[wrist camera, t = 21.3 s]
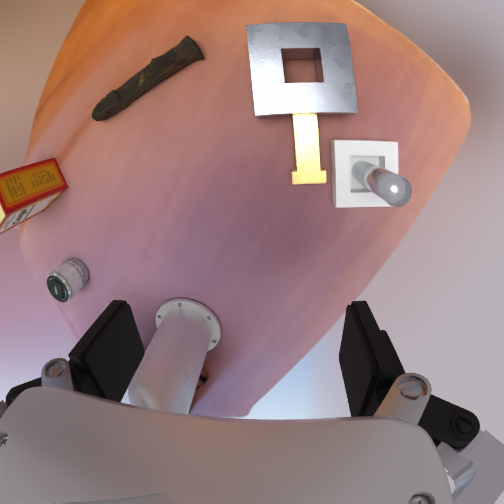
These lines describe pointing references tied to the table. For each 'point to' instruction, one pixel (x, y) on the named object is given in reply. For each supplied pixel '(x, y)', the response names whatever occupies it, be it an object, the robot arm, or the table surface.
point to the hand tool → (148, 78)
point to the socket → (301, 48)
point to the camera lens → (67, 280)
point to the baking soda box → (29, 191)
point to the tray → (342, 161)
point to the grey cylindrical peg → (383, 183)
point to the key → (306, 150)
